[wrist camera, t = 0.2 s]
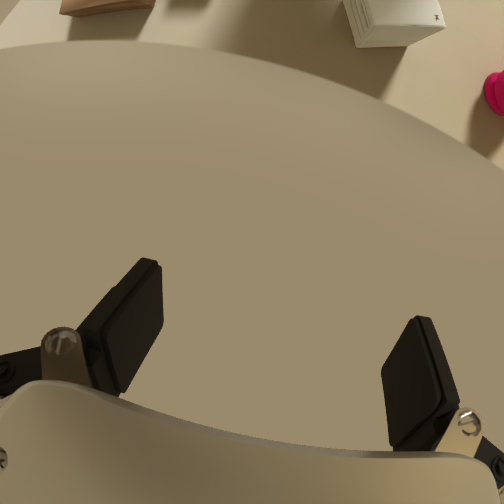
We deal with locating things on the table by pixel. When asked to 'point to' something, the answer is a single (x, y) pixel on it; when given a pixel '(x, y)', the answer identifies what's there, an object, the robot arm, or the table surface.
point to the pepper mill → (495, 92)
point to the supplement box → (392, 21)
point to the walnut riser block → (100, 6)
